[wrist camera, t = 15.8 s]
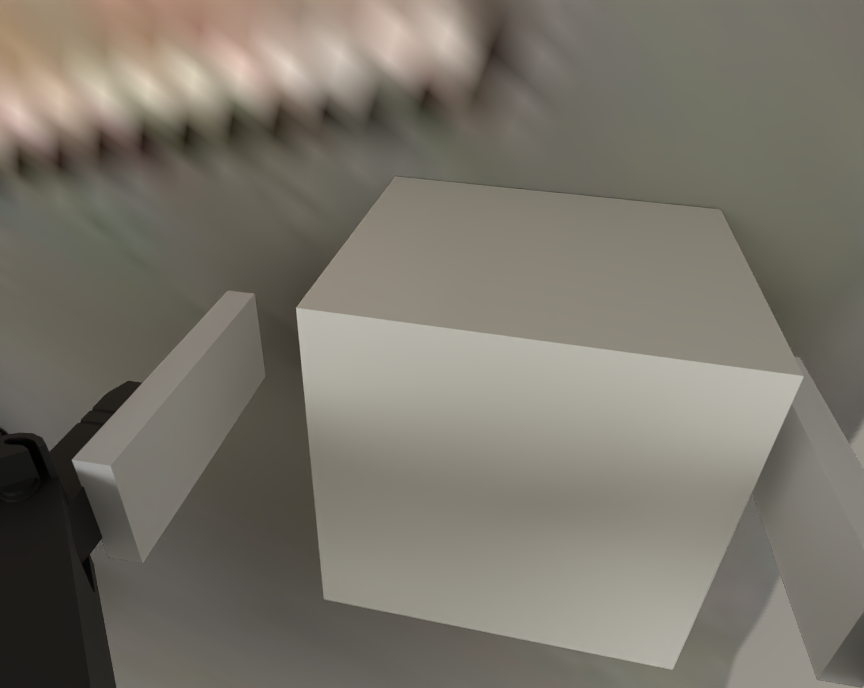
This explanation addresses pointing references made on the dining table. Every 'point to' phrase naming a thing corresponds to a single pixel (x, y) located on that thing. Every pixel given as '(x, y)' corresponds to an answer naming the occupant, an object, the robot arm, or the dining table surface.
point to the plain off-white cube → (538, 412)
